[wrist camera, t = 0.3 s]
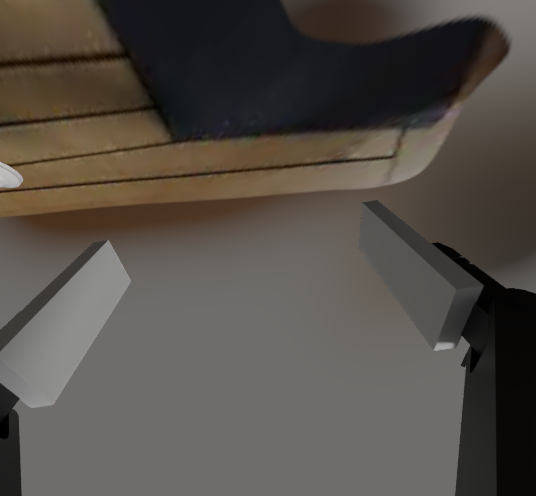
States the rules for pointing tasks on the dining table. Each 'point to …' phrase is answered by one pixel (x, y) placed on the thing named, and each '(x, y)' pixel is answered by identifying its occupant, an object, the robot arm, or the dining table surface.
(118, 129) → the dining table surface
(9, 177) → the chess piece
